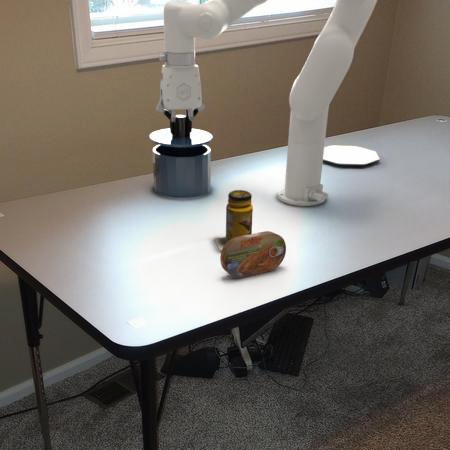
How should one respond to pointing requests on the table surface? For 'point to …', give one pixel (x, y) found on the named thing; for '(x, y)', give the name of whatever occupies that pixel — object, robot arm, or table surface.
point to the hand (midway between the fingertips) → (181, 135)
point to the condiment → (237, 216)
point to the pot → (182, 171)
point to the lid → (181, 136)
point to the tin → (253, 254)
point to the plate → (349, 155)
